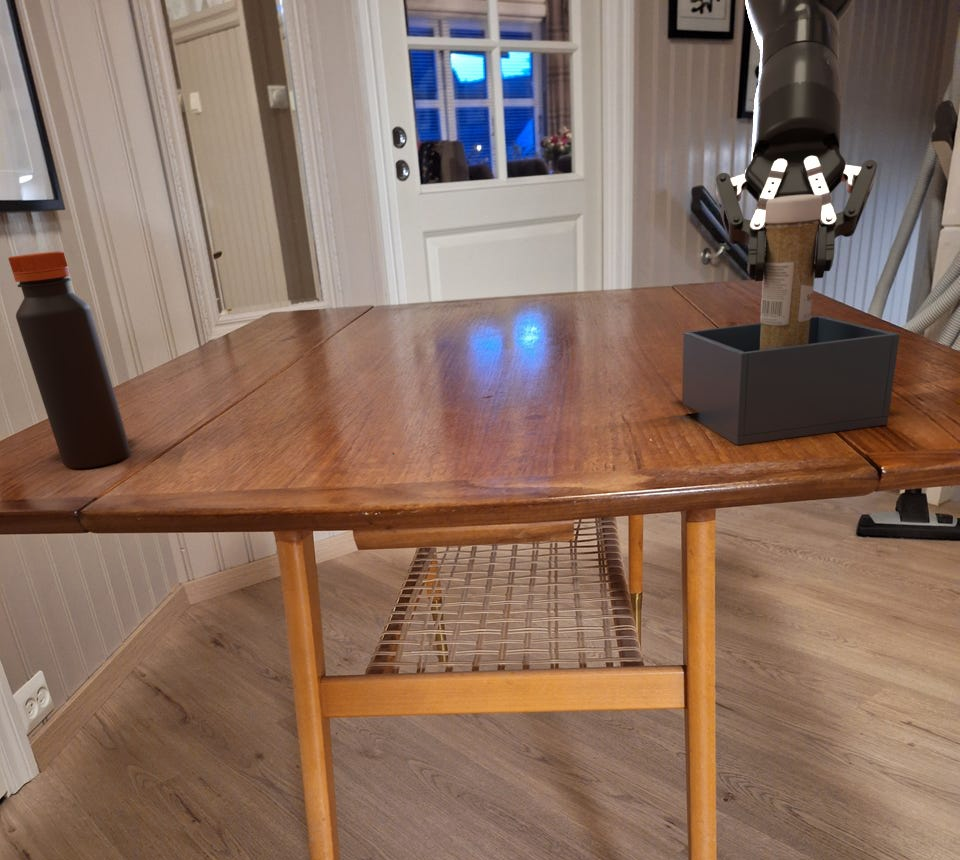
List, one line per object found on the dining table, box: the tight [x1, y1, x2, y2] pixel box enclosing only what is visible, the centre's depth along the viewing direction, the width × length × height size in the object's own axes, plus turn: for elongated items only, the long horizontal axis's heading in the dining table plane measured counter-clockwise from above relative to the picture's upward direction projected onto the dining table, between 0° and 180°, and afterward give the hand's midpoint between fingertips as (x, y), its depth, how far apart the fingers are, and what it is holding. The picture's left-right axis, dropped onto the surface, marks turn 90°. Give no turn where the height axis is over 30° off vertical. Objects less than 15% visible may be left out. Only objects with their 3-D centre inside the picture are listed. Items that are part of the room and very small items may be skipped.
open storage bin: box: [681, 315, 900, 446], centre depth 81 cm, size 14×13×8 cm
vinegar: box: [7, 250, 131, 470], centre depth 87 cm, size 7×7×20 cm
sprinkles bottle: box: [759, 195, 822, 350], centre depth 77 cm, size 5×5×13 cm
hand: (789, 272), depth 75 cm, fingers closed on sprinkles bottle, 4 cm apart
